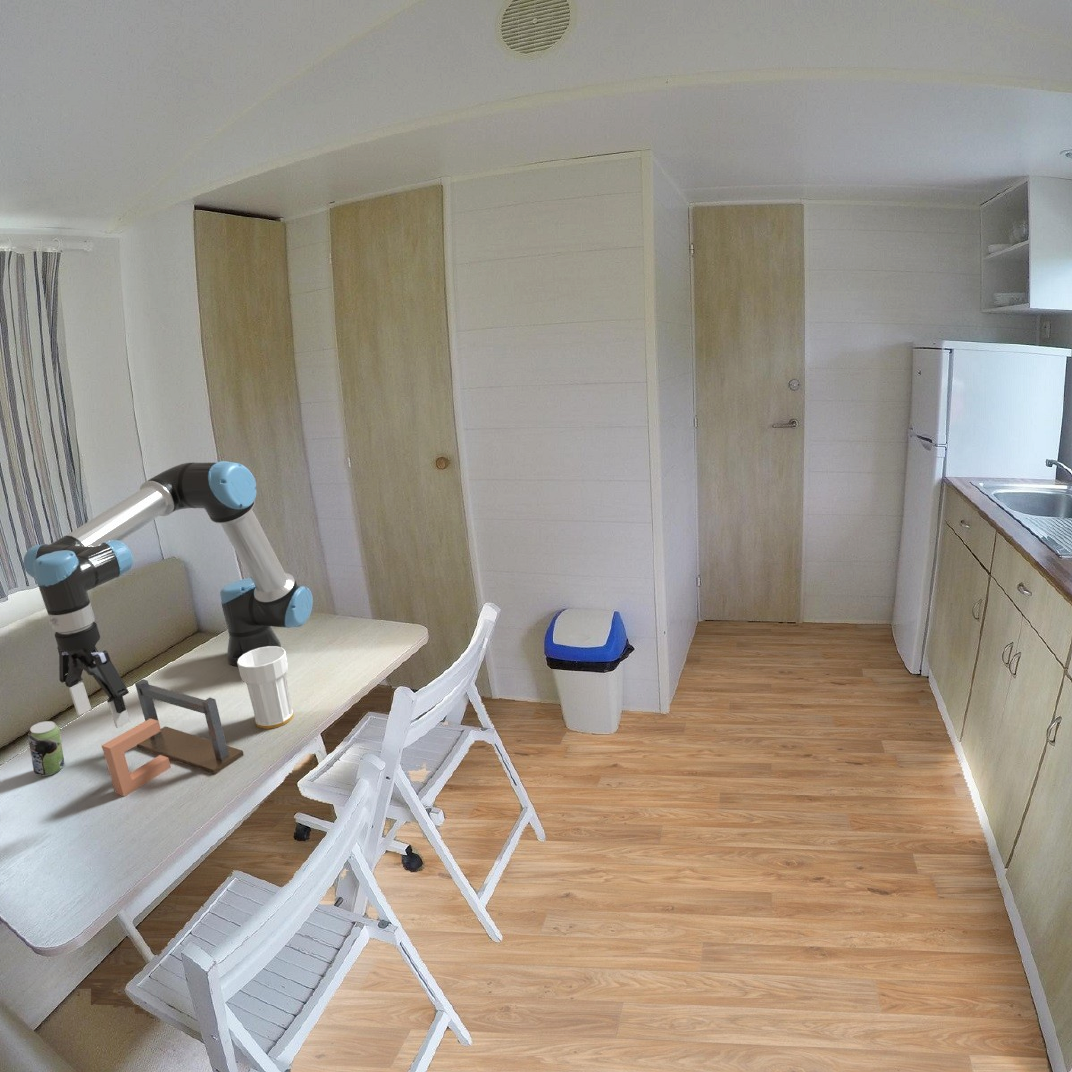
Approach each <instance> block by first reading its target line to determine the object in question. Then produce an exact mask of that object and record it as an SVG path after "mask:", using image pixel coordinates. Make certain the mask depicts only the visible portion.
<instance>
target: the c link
mask: <svg viewBox="0 0 1072 1072" xmlns="http://www.w3.org/2000/svg"><path fill="white" fill-rule="evenodd" d="M159 724H160V721H159V720H158V721H157V720H154V719H148V720H147V721H145V720H144V721H143V722H141V723H140V724H138V725H136V726H134V727H132V728H131V729H130V728H129V729H128V730H127V731H124V732H123V733H122V734H119V735H118V736H116V737H113V738H112V739H111V740H109V741H107V742H105V743H103V744H102V745H101V748H102V752H103V755H104V758H105V762H106V764H107V765H106V766H107V767H108V768H107V770H108V772H109V775H110V778H111V783H112V785H113V788H114V792H115V794H116V795H118V796H122V797H126V796H127V795H130V793H132V792H134V791H135V790H137V789H138V788H141V786H143V785H145V784H147V783H148V782H149V781H151V780H152V779H155V778H156V777H158V776H160V775H161V774H162V773H164V772H166V771H167V770H169V769H171V768H172V766H171V763H170V759H169V758H168V757H165V756H162V755H158V756H156V757H154V758H153V759H151V760H149V761H147V762H146V763H144V764H142V765H140V766H139V767H138V768H136V769H134V770H132V771H131V772H130V769H129V766H128V761H127V759H126V756H125V753H126V752H127V751H128V750H131V749H132V748H134V747H137V745H138V744H139V743H141V742H143V741H144V740H146V739H148V738H150V737H151V736H153V735H155V734H157V733H158V732H160V731H161V729H162V728H161V724H160V725H159Z"/></svg>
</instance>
